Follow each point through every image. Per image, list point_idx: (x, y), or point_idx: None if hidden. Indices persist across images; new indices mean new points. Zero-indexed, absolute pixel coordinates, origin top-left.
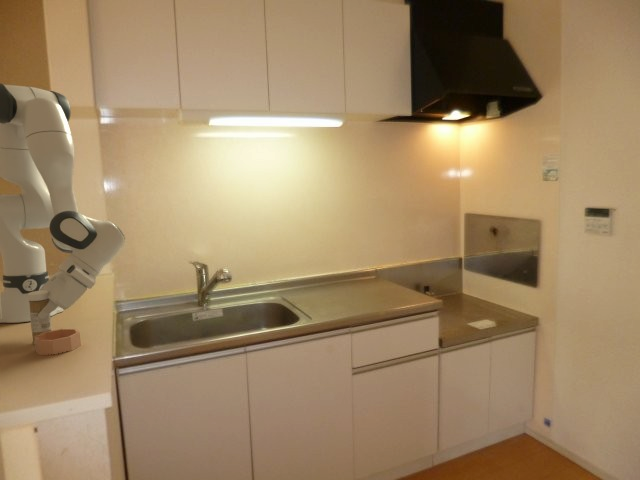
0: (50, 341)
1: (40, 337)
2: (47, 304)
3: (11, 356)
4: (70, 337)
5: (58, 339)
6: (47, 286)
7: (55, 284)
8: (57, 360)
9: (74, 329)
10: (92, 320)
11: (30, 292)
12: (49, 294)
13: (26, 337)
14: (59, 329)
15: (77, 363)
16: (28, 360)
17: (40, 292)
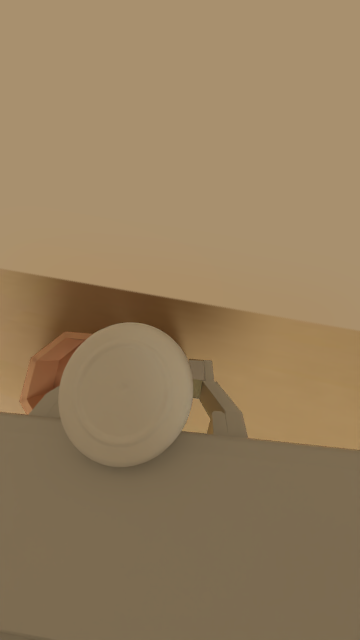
0: (37, 353)
1: None
2: (58, 394)
3: (121, 298)
4: (20, 400)
5: (27, 371)
6: (311, 539)
7: (107, 635)
8: (19, 352)
9: None
10: None
11: (161, 343)
12: (68, 446)
13: (241, 350)
14: None
15: None
16: (69, 314)
17: (89, 396)
